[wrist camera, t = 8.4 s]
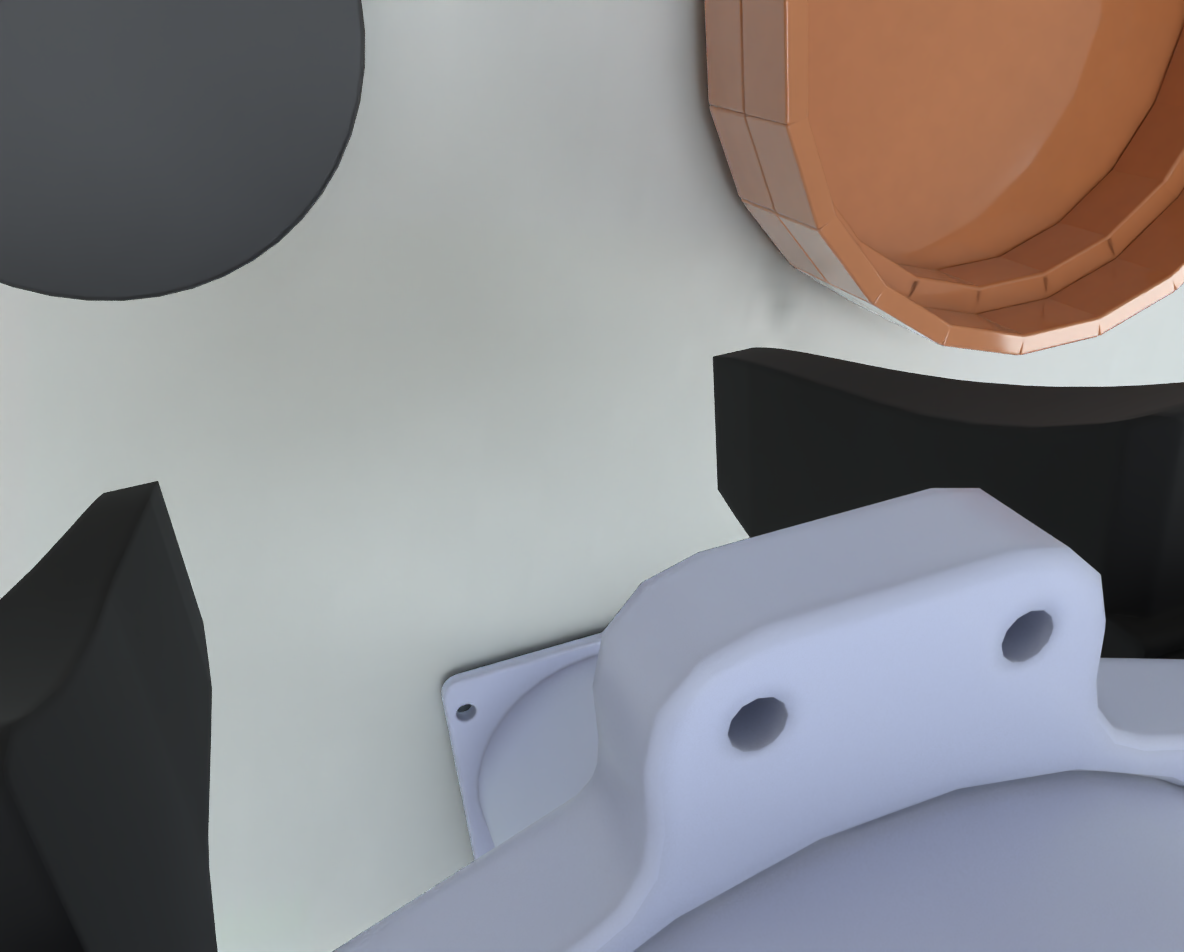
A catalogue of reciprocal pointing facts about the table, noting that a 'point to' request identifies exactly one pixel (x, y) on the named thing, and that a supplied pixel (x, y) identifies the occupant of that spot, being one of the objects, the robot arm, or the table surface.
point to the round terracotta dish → (962, 156)
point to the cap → (166, 136)
